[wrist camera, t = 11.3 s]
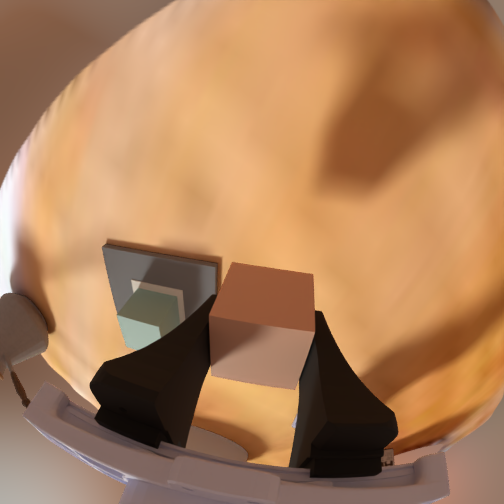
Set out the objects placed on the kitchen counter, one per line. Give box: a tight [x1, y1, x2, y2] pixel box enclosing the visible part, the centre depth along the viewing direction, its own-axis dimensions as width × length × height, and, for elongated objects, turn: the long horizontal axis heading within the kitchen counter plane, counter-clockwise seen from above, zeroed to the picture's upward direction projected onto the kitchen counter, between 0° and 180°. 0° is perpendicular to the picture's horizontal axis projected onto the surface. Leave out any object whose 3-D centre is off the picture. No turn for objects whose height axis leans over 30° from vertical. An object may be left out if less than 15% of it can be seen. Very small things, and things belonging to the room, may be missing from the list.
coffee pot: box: [0, 293, 48, 409], centre depth 26 cm, size 21×12×15 cm, turn 93°
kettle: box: [185, 425, 248, 462], centre depth 34 cm, size 25×23×22 cm
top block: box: [209, 262, 315, 390], centre depth 13 cm, size 4×4×4 cm
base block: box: [117, 288, 180, 350], centre depth 23 cm, size 4×4×4 cm
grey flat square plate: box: [102, 244, 217, 324], centre depth 25 cm, size 11×11×1 cm
